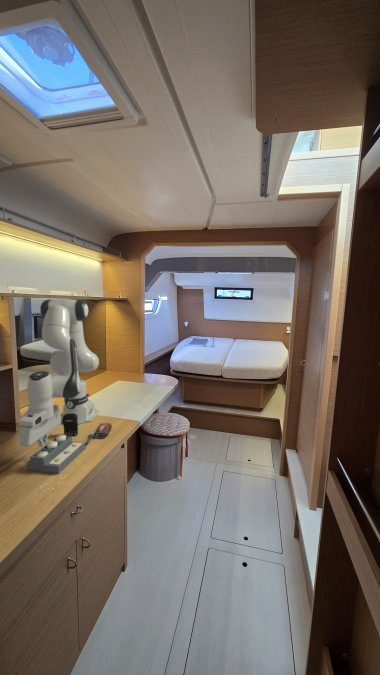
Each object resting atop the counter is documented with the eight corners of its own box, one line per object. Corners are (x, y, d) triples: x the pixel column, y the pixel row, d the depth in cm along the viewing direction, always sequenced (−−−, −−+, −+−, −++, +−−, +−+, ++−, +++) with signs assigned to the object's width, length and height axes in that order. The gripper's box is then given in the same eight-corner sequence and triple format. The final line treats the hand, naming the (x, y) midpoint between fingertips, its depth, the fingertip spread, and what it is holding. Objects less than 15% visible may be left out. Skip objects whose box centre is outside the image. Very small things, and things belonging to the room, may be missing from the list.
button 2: (59, 438, 124) (59, 434, 124) (67, 439, 123) (67, 435, 123) (54, 442, 120) (54, 438, 120) (62, 443, 119) (62, 439, 119)
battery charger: (62, 437, 134) (61, 415, 133) (64, 434, 138) (63, 412, 137) (77, 436, 135) (76, 415, 134) (78, 433, 139) (78, 412, 138)
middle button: (51, 445, 118) (51, 440, 118) (59, 445, 118) (59, 441, 117) (45, 449, 114) (44, 445, 114) (53, 450, 114) (53, 446, 113)
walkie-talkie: (96, 427, 147) (84, 446, 127) (96, 420, 146) (84, 437, 126) (112, 427, 147) (103, 446, 127) (112, 420, 147) (103, 437, 127)
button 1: (41, 455, 112) (41, 450, 112) (50, 456, 112) (50, 451, 112) (34, 460, 108) (34, 455, 108) (43, 461, 108) (43, 457, 108)
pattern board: (57, 445, 126) (57, 434, 126) (85, 448, 124) (84, 437, 124) (26, 469, 108) (26, 456, 107) (58, 473, 106) (58, 460, 105)
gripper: (51, 402, 119) (52, 432, 121) (14, 422, 99) (16, 457, 101) (64, 403, 118) (65, 433, 120) (29, 424, 98) (31, 459, 100)
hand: (42, 444), depth 110 cm, fingers closed
